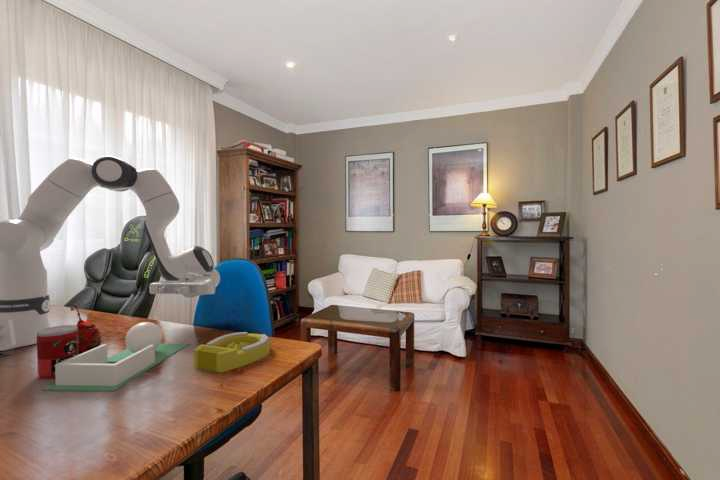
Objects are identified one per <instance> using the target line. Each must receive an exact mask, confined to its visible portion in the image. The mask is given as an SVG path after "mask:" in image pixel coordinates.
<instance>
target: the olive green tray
mask: <svg viewBox="0 0 720 480" xmlns="http://www.w3.org/2000/svg"><path fill="white" fill-rule="evenodd" d="M270 344H271V343H270V337H268V335H267V334H265V333H261V334H260V333H248V332H247V331H242V332H241V331H239V332H234V333H233V332H232V333H228V334H224V335H223V334H222V335H221V336H218V337H216V338H214V339H212V340H210V341H208V342H207V343H206V344H198V346H197V347H195V349H194V350H193V351H194V356H193V358H194V361H193V362H194V368H195V369H199V370H205V371H210V372H216V373H224V372H227V371H232V370H234V369H238V368H241V367H244V366H247V365H249V364H252V363H254V362H256V361H257V362H258V361H259V360H261V359H264V358H265V357H267V356H268V355H269V354H270V350H271V348H270V347H271V346H270Z"/></svg>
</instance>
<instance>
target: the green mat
mask: <svg viewBox="0 0 720 480" xmlns="http://www.w3.org/2000/svg"><path fill="white" fill-rule="evenodd" d="M187 346H189V343H173V342H172V343H170V342H169V343H167V342H166V343H165V342H163V343H162V342H161V343H160V345H159V346H158V347H157V349H155V362H154V363H153V364H151V365H149V366H148V367H146V368H144V369H143V370H141V371H139V372H138V373H136V374H135V375H133V376H131V377H130V378H128V379H126V380H125V381H123V382H121V383H120V384H118V385H116V386H85V385H56V382H54V383H52V384H51V385H49V386H45V387H44V388H42V391H54V392H55V391H56V392H58V391H61V392H66V391H67V392H69V391H70V392H71V391H72V392H115V391H116V390H118V389H120V388H121V387H123V386H124V385H126V384H128V383H130V382H131V381H132V380H134V379H136V378H137V377H139V376H140V375H143V374H144V373H145V372H147V371H149V370H150V369H152V368H154V367H156V365H158V364H160V363H162V362H163V361H164V360H167V359H168V358H170V357H171V356H173V355H175V354H176V353H177V352H180V351H181V350H182V349H185V347H187ZM132 354H134V353H132V352H131V351H129V350H128V348H127V347H126V349H123V350H121V351H119V352H117V353H115V354H113V355H111V356H109V357H108V363H107V364H114V363H116V362H118V361H120V360H122V359H124V358H126V357H128V356H130V355H132Z"/></svg>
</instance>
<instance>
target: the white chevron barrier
mask: <svg viewBox="0 0 720 480" xmlns="http://www.w3.org/2000/svg"><path fill="white" fill-rule="evenodd" d="M108 358H109V357H108V344H107V343H104V344H100V346H98V347H96V348H93V349H91V350H89V351H86V352H84V353H82V354H78V355H77V356H74V357H72V358H70V359H67V360H65V361H63V362H60V363H58V364H55V376H56V378H55V383H56V385H85V386H116V385H118V384H120V383H121V382H123V381H125V380H126V379H128V378H130V377H131V376H133V375H135V374H136V373H138V372H139V371H141V370H143V369H144V368H146V367H148V366H149V365H151V364H153V363H154V362H155V345H149V346H148V347H146V348H144V349H142V350H140V351H138V352H136V353H134V354H132V355H130V356H128V357H126V358H124V359H122V360H120V361H118V362H116V363H108Z"/></svg>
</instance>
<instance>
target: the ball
mask: <svg viewBox="0 0 720 480" xmlns="http://www.w3.org/2000/svg"><path fill="white" fill-rule="evenodd" d="M124 339H125V340H124V344H125V346H126V349H127V348H128V350H129V351H131V352H132V353H136V352H138V351H140V350H142V349H144V348H146V347H148V346H149V345H155V349H157V347H158V346H159V345H160V343H162V340H163V331H162V329H161V327H160V326H159V325H157V324H156V323H155V322H151V321H143V322H138V323H137V324H134V325H133V326H132V327H131V328H129V330H128V331H127V333H126V335H125V338H124Z"/></svg>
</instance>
